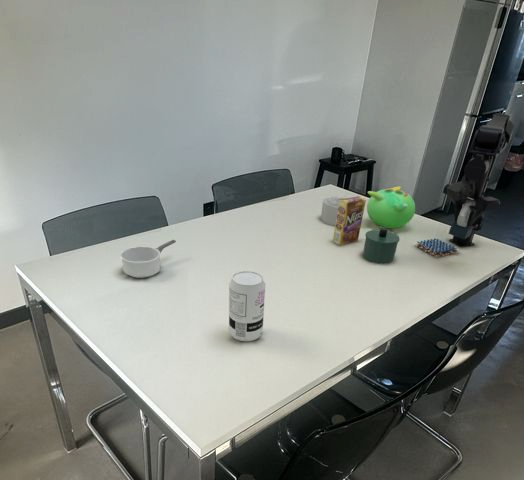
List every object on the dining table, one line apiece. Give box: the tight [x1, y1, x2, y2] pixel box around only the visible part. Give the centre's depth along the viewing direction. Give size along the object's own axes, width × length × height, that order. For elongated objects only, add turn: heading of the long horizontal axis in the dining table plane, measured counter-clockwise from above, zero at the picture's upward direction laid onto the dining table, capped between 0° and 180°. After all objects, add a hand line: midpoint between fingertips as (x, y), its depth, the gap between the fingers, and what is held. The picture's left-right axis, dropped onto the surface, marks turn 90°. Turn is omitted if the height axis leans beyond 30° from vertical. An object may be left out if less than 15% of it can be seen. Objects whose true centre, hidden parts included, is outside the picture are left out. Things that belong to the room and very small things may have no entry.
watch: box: [448, 200, 475, 239], centre depth 146 cm, size 6×8×11 cm
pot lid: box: [364, 226, 401, 244], centre depth 149 cm, size 11×11×4 cm
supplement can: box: [228, 270, 266, 342], centre depth 108 cm, size 8×8×15 cm
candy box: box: [332, 195, 367, 246], centre depth 159 cm, size 9×4×15 cm, turn 123°
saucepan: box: [119, 239, 177, 279], centre depth 138 cm, size 12×20×6 cm, turn 145°
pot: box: [362, 237, 399, 265], centre depth 152 cm, size 10×10×7 cm
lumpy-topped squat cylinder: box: [320, 195, 347, 227], centre depth 179 cm, size 10×13×9 cm
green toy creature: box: [366, 186, 416, 229], centre depth 175 cm, size 18×17×15 cm
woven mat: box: [416, 237, 458, 258], centre depth 161 cm, size 10×11×2 cm
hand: (462, 223), depth 147 cm, fingers closed on watch, 5 cm apart
